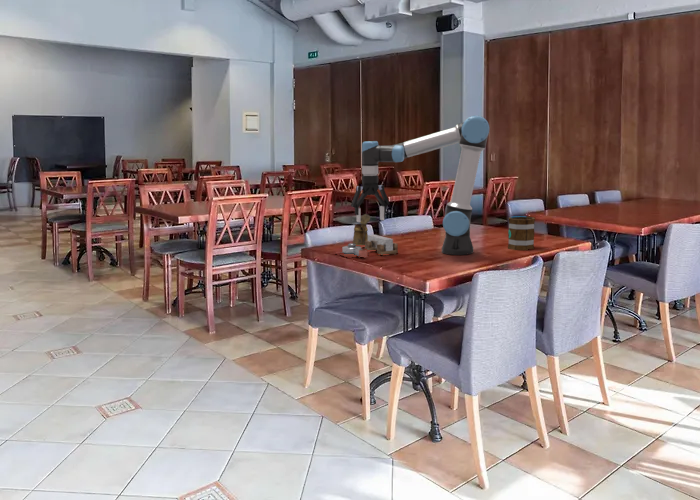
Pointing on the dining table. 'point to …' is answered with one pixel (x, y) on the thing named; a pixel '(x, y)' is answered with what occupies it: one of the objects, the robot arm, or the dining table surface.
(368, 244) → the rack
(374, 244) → the steel bar
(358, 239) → the bronze figurine
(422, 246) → the dining table surface
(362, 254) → the silver lever handle
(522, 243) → the mug
